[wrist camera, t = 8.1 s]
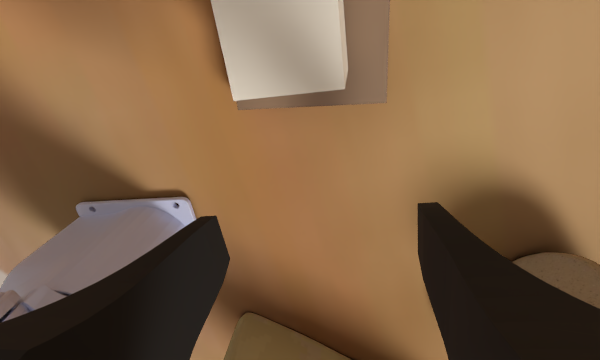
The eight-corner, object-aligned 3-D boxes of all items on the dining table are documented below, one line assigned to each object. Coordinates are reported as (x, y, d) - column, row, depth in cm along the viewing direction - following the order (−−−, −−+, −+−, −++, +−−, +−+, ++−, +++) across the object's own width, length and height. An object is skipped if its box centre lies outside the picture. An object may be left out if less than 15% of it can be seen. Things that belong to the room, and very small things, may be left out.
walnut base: (250, 98, 21) (237, 109, 18) (226, -58, 17) (207, -67, 15) (382, 91, 19) (386, 103, 17) (387, -80, 16) (392, -93, 14)
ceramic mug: (575, 225, 21) (676, 331, 14) (621, 306, 23) (726, 431, 16) (420, 286, 25) (441, 389, 19) (472, 350, 28) (507, 462, 21)
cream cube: (261, 79, 17) (233, 100, 14) (243, -20, 15) (204, -28, 12) (348, 69, 17) (345, 89, 13) (340, -38, 15) (333, -53, 11)
